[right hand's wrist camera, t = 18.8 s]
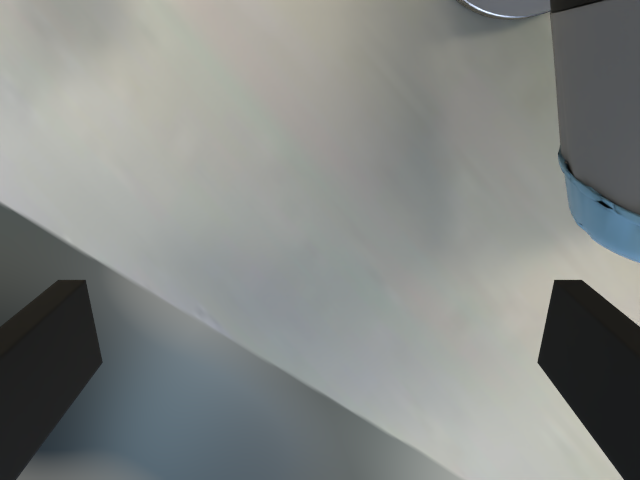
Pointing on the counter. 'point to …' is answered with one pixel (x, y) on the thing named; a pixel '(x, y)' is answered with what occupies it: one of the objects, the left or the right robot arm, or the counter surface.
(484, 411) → the counter surface
